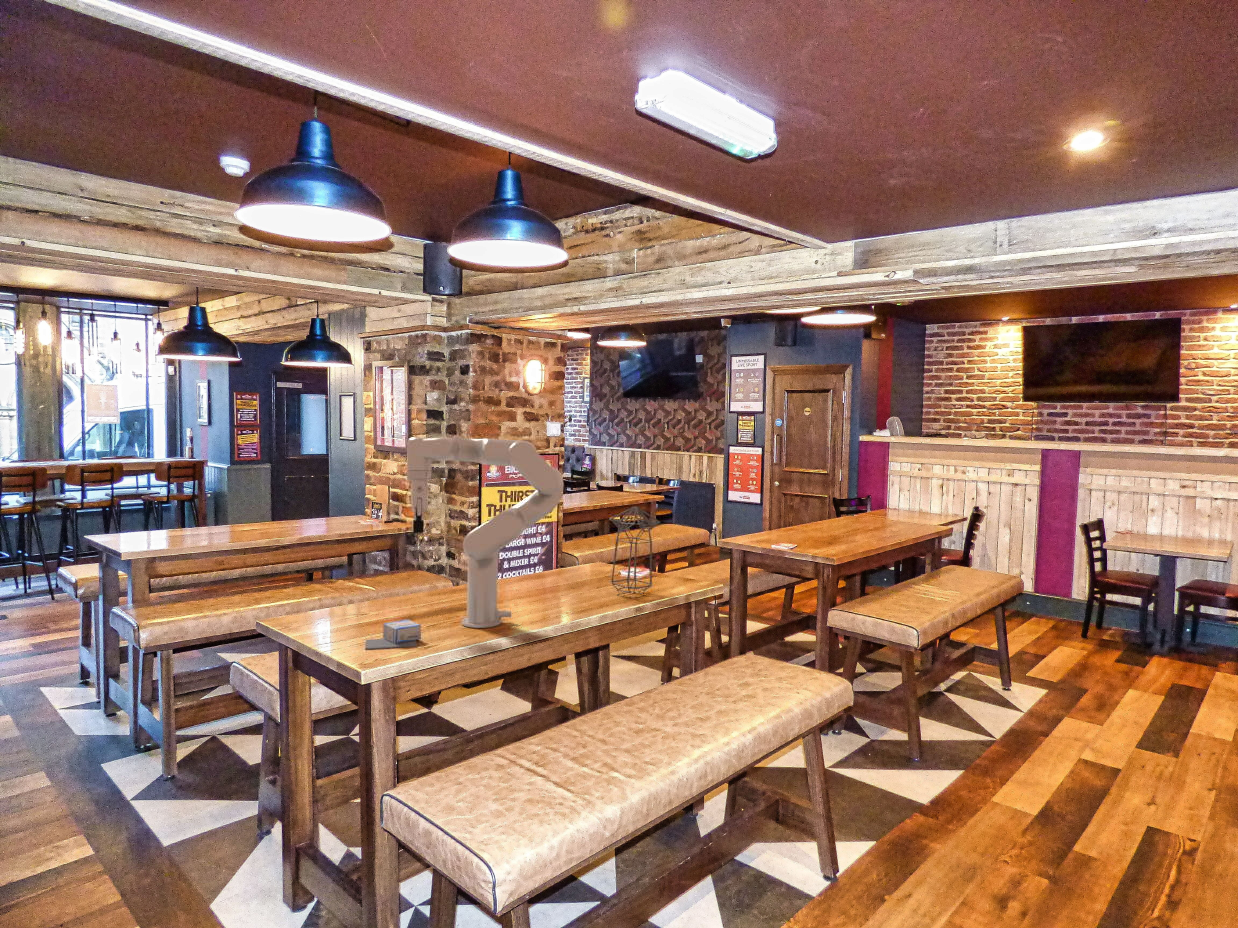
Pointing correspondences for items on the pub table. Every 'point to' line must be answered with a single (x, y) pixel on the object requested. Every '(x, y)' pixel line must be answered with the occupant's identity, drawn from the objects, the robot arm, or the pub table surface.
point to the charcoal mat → (387, 644)
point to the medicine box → (401, 631)
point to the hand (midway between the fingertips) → (418, 532)
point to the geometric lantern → (638, 511)
